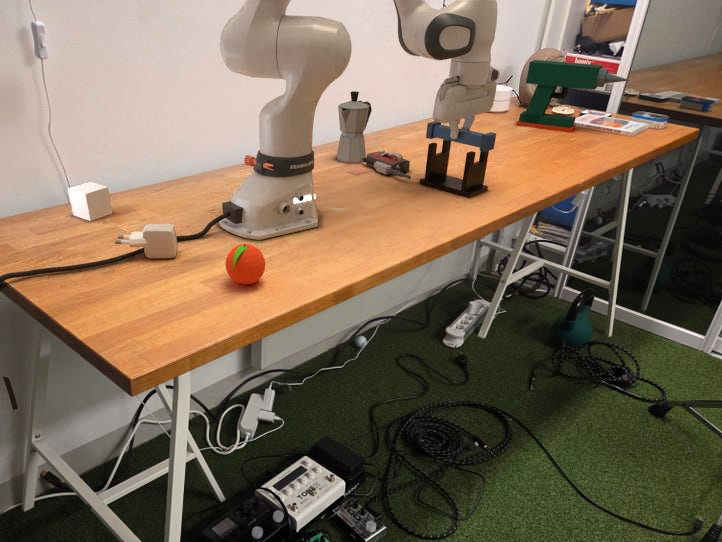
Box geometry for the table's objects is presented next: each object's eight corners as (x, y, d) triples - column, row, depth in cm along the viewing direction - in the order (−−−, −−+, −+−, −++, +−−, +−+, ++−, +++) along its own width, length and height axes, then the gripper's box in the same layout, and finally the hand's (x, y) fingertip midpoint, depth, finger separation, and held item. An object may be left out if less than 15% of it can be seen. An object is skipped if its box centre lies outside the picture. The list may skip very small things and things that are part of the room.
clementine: (253, 296, 103) (251, 258, 99) (216, 289, 105) (213, 251, 101) (272, 277, 109) (271, 240, 105) (237, 271, 111) (235, 234, 107)
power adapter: (116, 261, 114) (111, 231, 111) (121, 251, 119) (116, 222, 115) (176, 260, 115) (172, 230, 112) (179, 250, 119) (175, 221, 116)
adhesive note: (73, 215, 135) (67, 188, 131) (95, 207, 139) (90, 181, 136) (90, 221, 132) (85, 193, 129) (112, 213, 136) (108, 186, 133)
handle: (485, 151, 142) (488, 135, 140) (425, 138, 152) (427, 122, 150) (493, 149, 144) (496, 133, 142) (434, 135, 154) (436, 120, 152)
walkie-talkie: (355, 165, 169) (406, 183, 155) (356, 149, 166) (408, 166, 153) (379, 160, 173) (430, 177, 160) (380, 144, 171) (432, 160, 157)
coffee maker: (351, 166, 168) (355, 96, 158) (325, 161, 172) (327, 92, 162) (379, 155, 178) (384, 89, 168) (354, 150, 182) (358, 85, 172)
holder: (469, 197, 147) (476, 154, 141) (419, 183, 156) (423, 142, 150) (487, 190, 151) (494, 148, 146) (437, 177, 160) (443, 137, 155)
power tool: (617, 133, 203) (635, 67, 192) (613, 137, 198) (632, 70, 187) (521, 121, 217) (533, 59, 206) (516, 125, 212) (528, 61, 201)
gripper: (454, 81, 131) (445, 146, 139) (504, 71, 143) (493, 132, 151) (430, 77, 135) (423, 141, 143) (481, 68, 147) (471, 127, 155)
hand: (459, 136), depth 147 cm, fingers closed on handle, 2 cm apart
